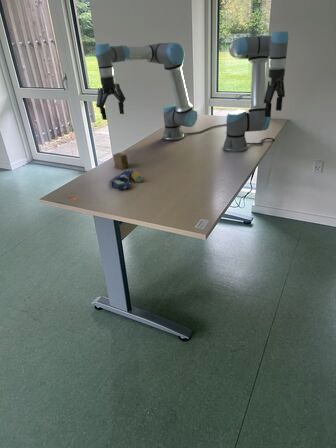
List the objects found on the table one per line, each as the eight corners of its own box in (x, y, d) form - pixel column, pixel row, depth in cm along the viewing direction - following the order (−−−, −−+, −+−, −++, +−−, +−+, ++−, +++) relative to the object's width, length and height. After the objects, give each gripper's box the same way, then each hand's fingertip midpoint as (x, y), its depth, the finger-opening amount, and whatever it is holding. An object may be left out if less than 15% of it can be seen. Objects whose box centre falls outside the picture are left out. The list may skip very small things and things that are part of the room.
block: (120, 164, 209) (118, 152, 205) (128, 166, 206) (126, 154, 201) (115, 167, 206) (112, 155, 202) (122, 169, 202) (120, 156, 198)
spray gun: (148, 176, 189) (126, 173, 196) (147, 169, 187) (125, 167, 194) (129, 192, 174) (105, 189, 180) (127, 185, 172) (104, 182, 178)
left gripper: (118, 72, 189) (124, 111, 200) (84, 80, 173) (92, 121, 184) (128, 72, 185) (133, 112, 196) (94, 80, 169) (101, 122, 180)
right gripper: (279, 64, 171) (276, 107, 182) (258, 72, 154) (255, 118, 165) (294, 64, 166) (289, 108, 177) (273, 72, 150) (270, 120, 161)
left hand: (113, 116), depth 190 cm, fingers open, 13 cm apart
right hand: (273, 113), depth 171 cm, fingers open, 13 cm apart
